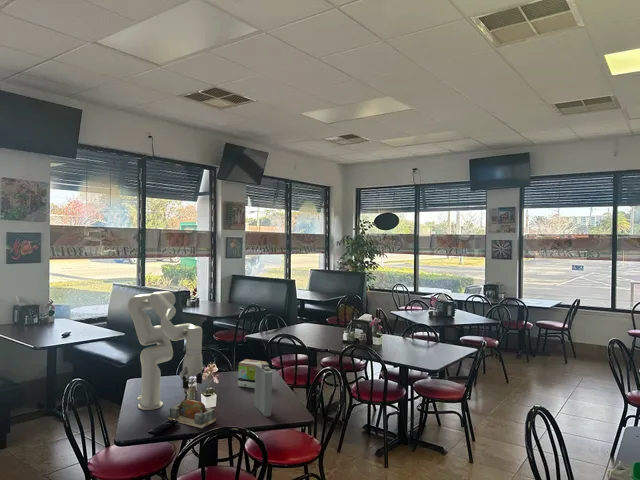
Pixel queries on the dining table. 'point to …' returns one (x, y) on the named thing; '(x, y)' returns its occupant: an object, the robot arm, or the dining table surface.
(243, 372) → the retro computer
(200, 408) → the tin
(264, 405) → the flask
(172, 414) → the stand
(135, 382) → the dining table surface
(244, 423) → the dining table surface
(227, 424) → the dining table surface
